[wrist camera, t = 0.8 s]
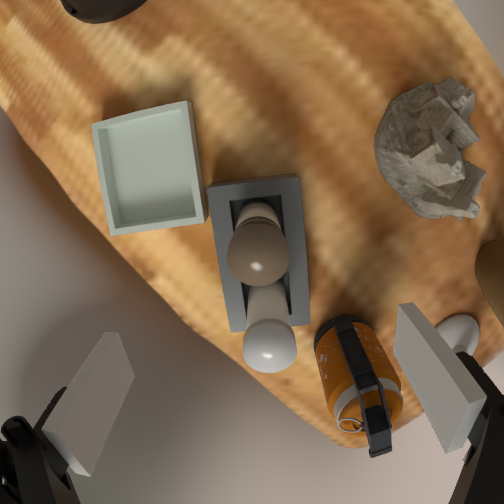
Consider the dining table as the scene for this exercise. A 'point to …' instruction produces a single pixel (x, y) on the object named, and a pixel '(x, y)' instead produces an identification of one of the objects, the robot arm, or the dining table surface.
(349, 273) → the dining table surface
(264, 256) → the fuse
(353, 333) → the canister
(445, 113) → the grey jagged lump
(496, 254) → the plant pot
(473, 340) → the candlestick
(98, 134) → the parts tray
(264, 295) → the cylinder
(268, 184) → the block
